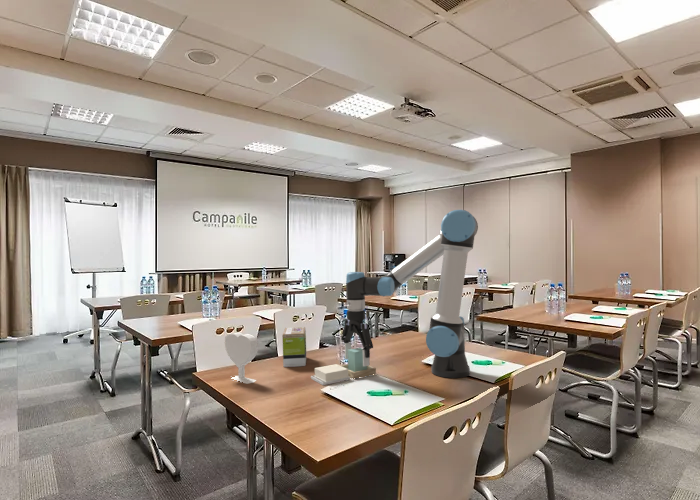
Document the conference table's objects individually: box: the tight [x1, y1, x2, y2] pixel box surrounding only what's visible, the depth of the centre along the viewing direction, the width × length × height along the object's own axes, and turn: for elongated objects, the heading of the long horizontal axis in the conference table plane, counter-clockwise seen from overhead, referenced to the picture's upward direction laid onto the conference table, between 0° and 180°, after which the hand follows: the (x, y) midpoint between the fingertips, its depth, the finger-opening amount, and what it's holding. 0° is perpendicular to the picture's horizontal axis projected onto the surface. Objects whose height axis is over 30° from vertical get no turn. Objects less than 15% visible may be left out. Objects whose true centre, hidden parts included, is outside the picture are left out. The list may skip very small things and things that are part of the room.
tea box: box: [281, 326, 307, 368], centre depth 183 cm, size 15×10×15 cm
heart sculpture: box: [224, 332, 259, 385], centre depth 159 cm, size 16×5×18 cm, turn 56°
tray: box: [341, 363, 377, 380], centre depth 164 cm, size 12×11×3 cm
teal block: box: [347, 347, 367, 372], centre depth 164 cm, size 5×6×9 cm
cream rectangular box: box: [310, 363, 351, 386], centre depth 158 cm, size 10×12×4 cm
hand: (356, 362), depth 164 cm, fingers open, 13 cm apart
